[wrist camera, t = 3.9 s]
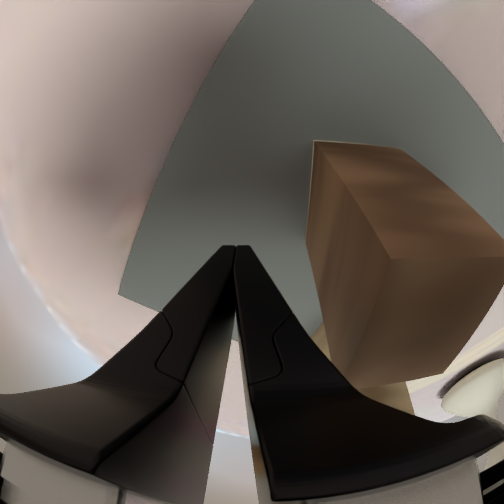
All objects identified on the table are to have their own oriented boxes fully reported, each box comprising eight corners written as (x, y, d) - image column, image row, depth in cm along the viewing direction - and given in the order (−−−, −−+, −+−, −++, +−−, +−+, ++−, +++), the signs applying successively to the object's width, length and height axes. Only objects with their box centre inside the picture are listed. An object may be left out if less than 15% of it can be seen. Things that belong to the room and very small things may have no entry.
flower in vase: (473, 391, 31) (505, 522, 11) (422, 403, 30) (450, 558, 10) (526, 337, 23) (577, 488, 3) (481, 345, 23) (534, 539, 2)
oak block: (386, 327, 18) (414, 415, 13) (349, 365, 21) (364, 444, 16) (328, 315, 17) (348, 419, 12) (294, 357, 20) (301, 447, 15)
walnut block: (398, 147, 11) (518, 256, 5) (379, 240, 14) (443, 373, 8) (313, 140, 11) (390, 259, 5) (304, 240, 14) (336, 391, 8)
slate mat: (528, 196, 12) (534, 201, 12) (357, 369, 23) (358, 375, 22) (289, -42, 7) (291, -47, 6) (120, 287, 17) (117, 294, 17)
